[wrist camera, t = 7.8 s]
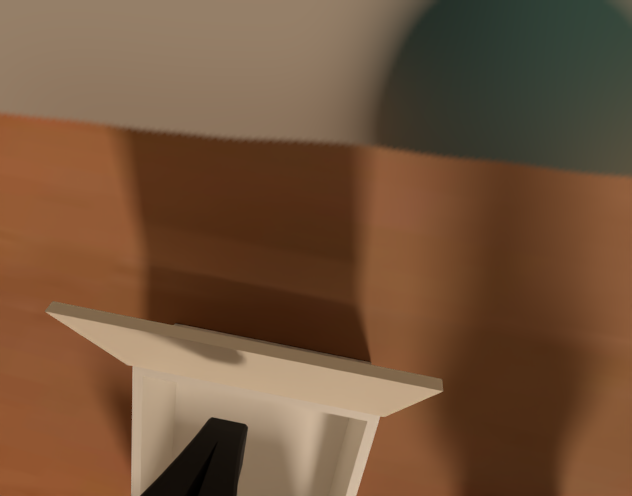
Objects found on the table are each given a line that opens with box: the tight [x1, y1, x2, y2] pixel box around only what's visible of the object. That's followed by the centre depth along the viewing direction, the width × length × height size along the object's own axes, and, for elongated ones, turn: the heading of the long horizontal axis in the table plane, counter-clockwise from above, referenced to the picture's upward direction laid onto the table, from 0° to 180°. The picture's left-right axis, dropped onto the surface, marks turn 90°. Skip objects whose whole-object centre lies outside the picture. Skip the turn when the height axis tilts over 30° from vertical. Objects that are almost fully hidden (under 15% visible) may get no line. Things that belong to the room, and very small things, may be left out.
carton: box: [131, 323, 380, 496], centre depth 21 cm, size 20×14×4 cm
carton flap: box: [45, 301, 443, 417], centre depth 13 cm, size 7×14×1 cm
